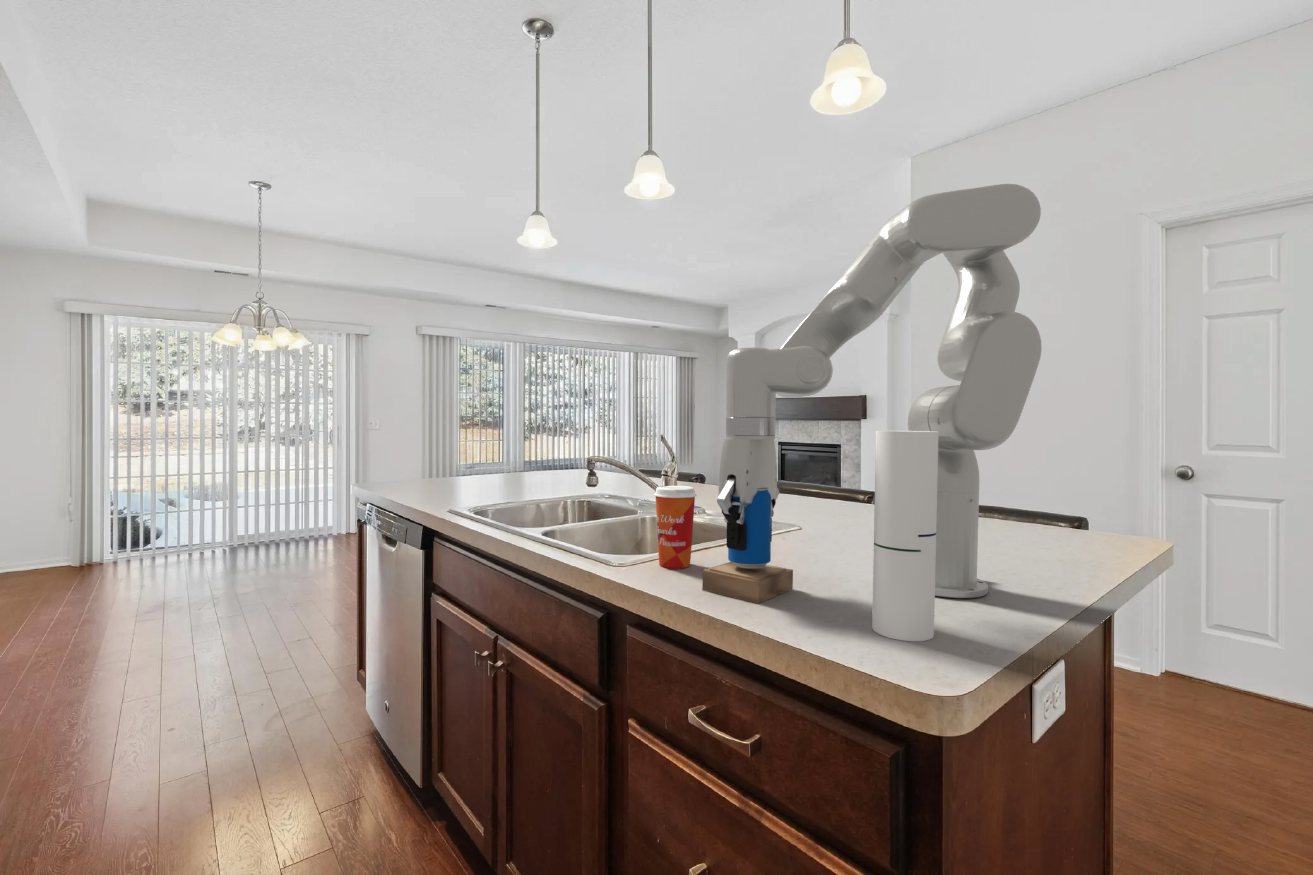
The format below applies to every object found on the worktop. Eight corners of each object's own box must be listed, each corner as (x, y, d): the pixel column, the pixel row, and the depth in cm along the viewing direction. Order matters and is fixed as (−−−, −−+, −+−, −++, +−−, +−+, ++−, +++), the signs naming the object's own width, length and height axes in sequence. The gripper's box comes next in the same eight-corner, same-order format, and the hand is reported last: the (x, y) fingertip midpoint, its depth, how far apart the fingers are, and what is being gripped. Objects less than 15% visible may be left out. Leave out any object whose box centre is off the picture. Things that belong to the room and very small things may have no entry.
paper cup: (644, 565, 106) (645, 487, 106) (671, 557, 112) (672, 484, 112) (678, 572, 101) (679, 491, 101) (705, 564, 107) (705, 487, 107)
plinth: (738, 577, 99) (738, 557, 99) (792, 588, 92) (793, 568, 92) (702, 589, 91) (702, 568, 91) (758, 603, 85) (758, 580, 85)
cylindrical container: (947, 638, 72) (952, 431, 71) (897, 643, 70) (902, 431, 69) (906, 618, 79) (910, 430, 78) (860, 623, 77) (864, 430, 76)
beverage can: (770, 571, 88) (770, 490, 87) (726, 568, 89) (726, 489, 89) (770, 560, 94) (771, 485, 94) (729, 558, 95) (730, 484, 95)
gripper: (759, 428, 100) (758, 534, 100) (696, 429, 87) (695, 551, 87) (799, 429, 95) (798, 540, 95) (739, 430, 82) (738, 559, 83)
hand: (749, 544), depth 91 cm, fingers closed on beverage can, 6 cm apart
